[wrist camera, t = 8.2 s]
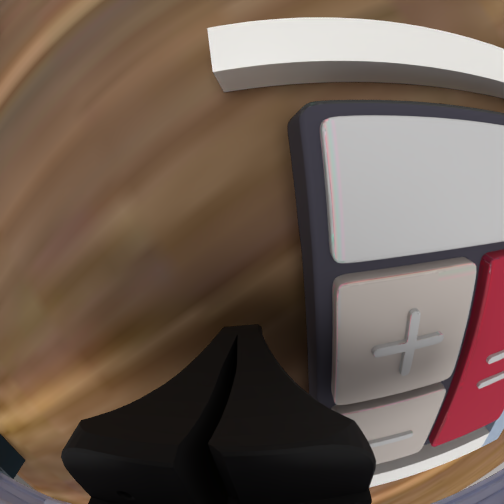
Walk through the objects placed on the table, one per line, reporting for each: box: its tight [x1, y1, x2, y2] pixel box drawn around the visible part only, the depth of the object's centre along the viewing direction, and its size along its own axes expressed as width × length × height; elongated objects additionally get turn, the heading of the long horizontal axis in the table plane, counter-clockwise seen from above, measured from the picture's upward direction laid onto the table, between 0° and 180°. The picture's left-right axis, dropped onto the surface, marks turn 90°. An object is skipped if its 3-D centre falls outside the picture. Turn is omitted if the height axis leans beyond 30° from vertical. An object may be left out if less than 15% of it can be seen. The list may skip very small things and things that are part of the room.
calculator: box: [288, 100, 504, 464], centre depth 10 cm, size 11×4×15 cm
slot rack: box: [207, 18, 504, 487], centre depth 10 cm, size 21×14×2 cm
